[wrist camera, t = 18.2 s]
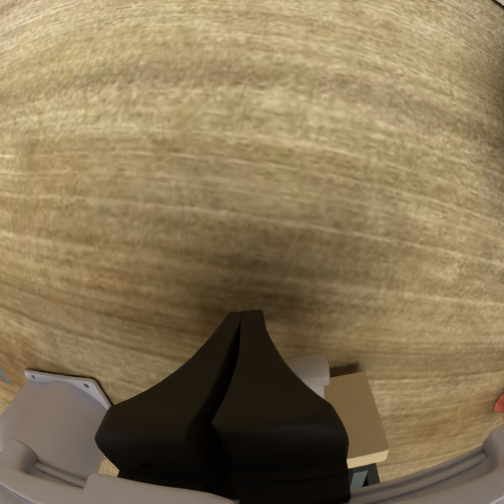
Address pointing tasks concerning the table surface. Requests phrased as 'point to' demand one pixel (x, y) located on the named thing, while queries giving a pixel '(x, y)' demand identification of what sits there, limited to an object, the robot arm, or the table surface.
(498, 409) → the cat figurine
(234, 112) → the table surface
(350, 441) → the drawer
